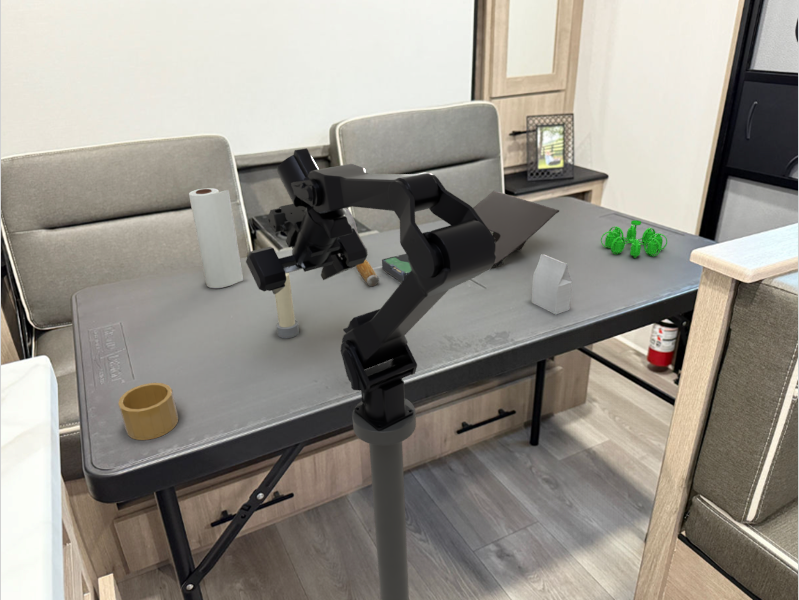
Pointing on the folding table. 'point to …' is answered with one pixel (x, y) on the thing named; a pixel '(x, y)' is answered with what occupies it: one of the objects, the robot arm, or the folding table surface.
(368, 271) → the magnifying glass
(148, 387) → the holder
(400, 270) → the disk drive
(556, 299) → the white gabled box
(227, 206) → the paper towel roll
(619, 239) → the chandelier
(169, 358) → the folding table surface
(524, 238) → the laptop tray
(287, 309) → the kitchen roll stand
